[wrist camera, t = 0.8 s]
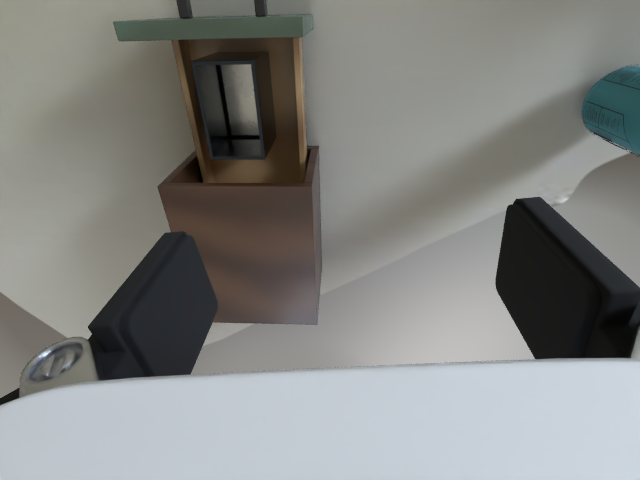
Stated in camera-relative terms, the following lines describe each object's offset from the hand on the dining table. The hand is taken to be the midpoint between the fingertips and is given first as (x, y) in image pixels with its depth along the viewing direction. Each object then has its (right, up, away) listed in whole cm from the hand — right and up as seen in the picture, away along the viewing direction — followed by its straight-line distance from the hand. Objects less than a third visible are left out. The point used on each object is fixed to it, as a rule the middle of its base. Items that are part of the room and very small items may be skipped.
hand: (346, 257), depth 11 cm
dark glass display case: (-8, +15, +24) cm, 29 cm away
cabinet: (-7, +4, +33) cm, 34 cm away
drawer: (-8, +16, +25) cm, 30 cm away
